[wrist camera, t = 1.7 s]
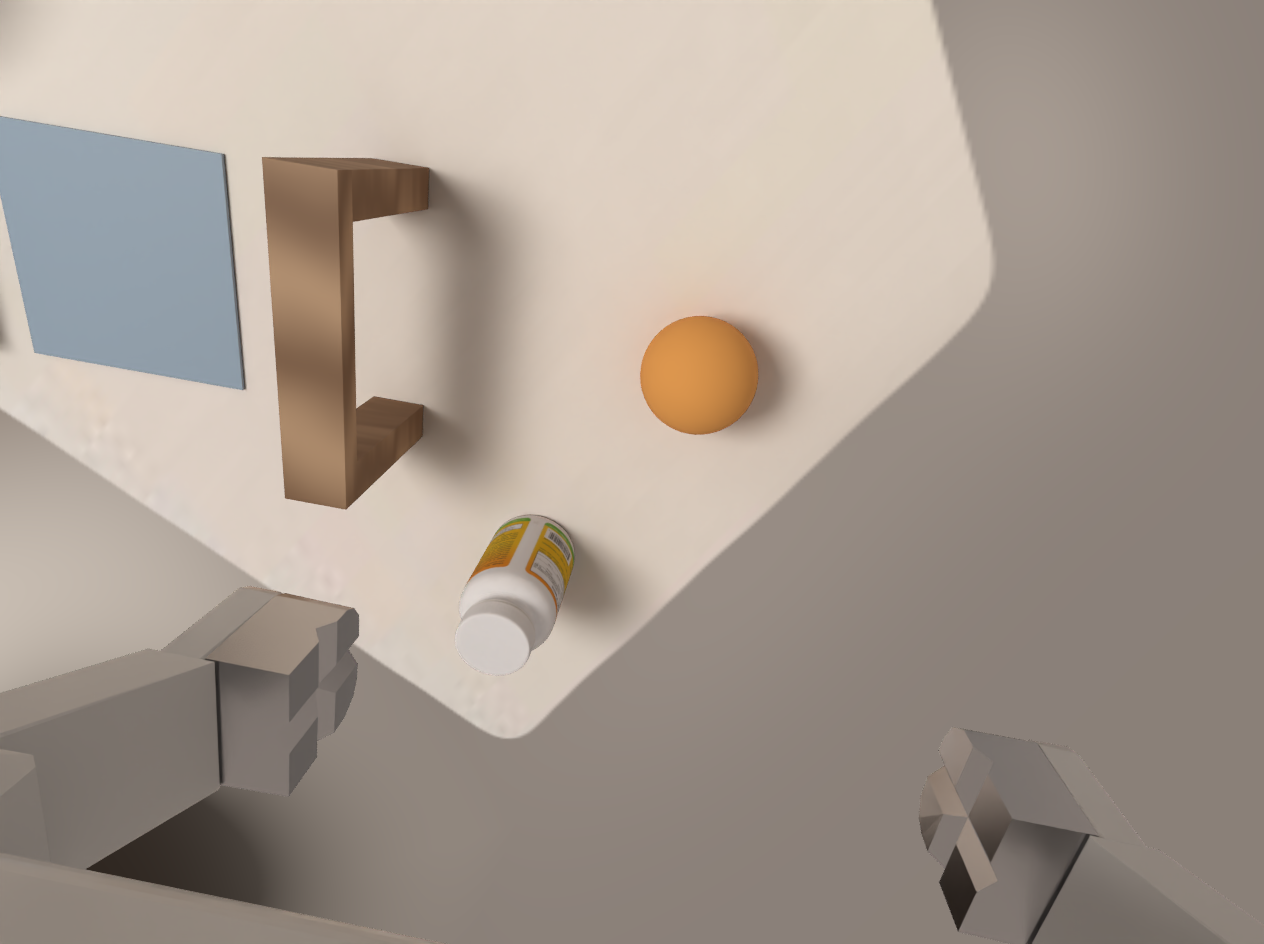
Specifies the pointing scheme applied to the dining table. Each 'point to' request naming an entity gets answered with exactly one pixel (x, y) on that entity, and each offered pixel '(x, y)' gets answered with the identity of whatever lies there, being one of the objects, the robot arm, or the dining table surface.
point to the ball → (699, 375)
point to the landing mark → (122, 251)
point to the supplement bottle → (514, 595)
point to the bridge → (330, 322)
